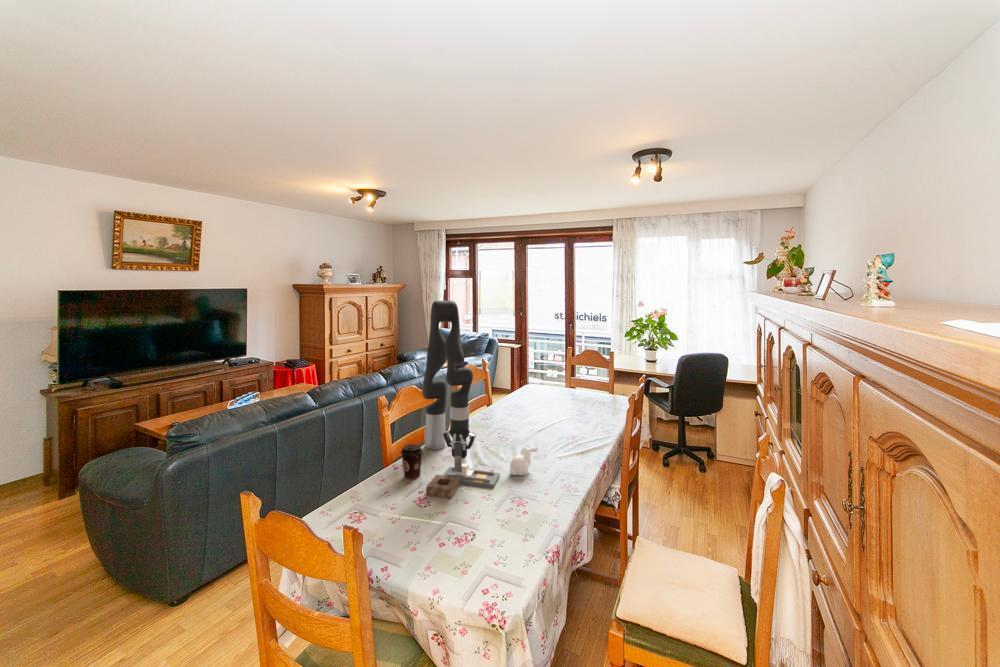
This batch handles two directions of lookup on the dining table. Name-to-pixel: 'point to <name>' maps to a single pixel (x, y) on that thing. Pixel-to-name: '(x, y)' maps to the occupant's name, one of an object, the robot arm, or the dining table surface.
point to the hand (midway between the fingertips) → (459, 457)
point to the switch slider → (466, 470)
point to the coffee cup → (411, 461)
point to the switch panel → (475, 477)
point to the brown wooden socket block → (443, 486)
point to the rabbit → (521, 462)
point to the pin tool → (458, 456)
